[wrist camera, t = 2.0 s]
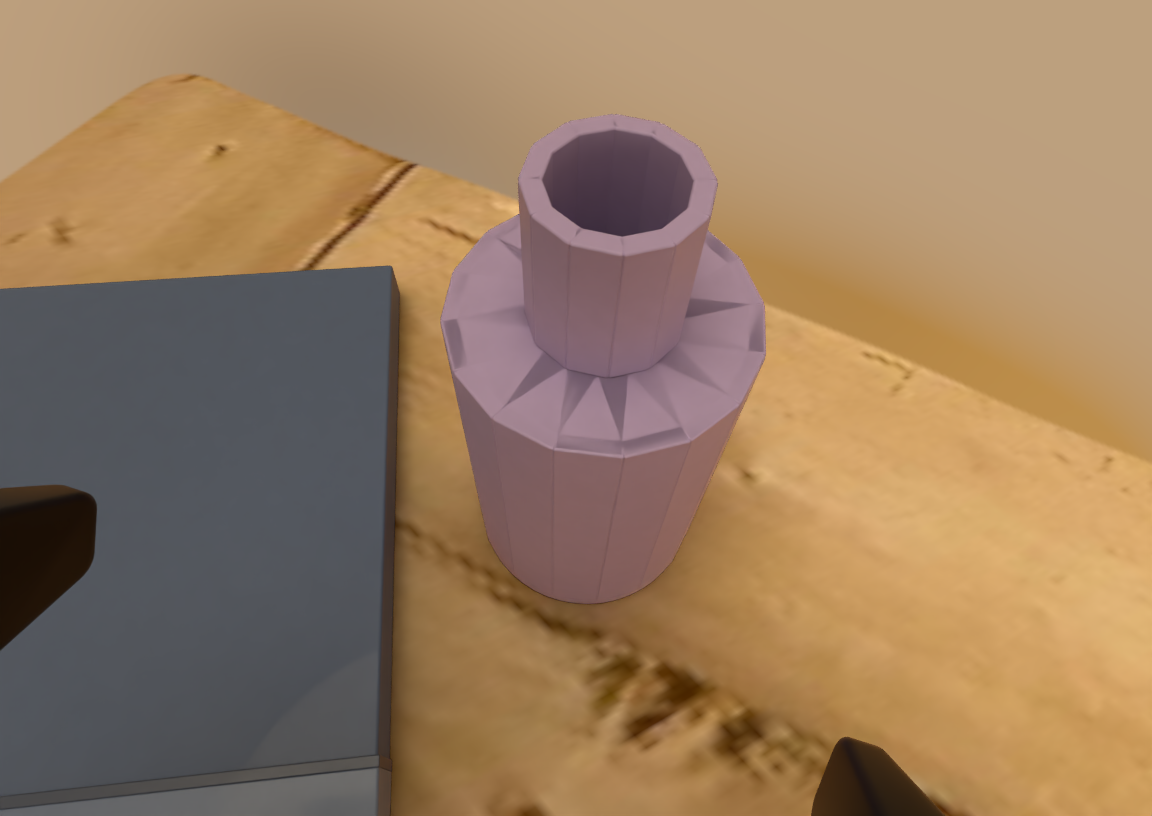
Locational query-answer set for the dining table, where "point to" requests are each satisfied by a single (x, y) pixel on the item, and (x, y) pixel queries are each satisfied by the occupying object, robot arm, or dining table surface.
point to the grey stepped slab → (207, 545)
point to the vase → (601, 357)
